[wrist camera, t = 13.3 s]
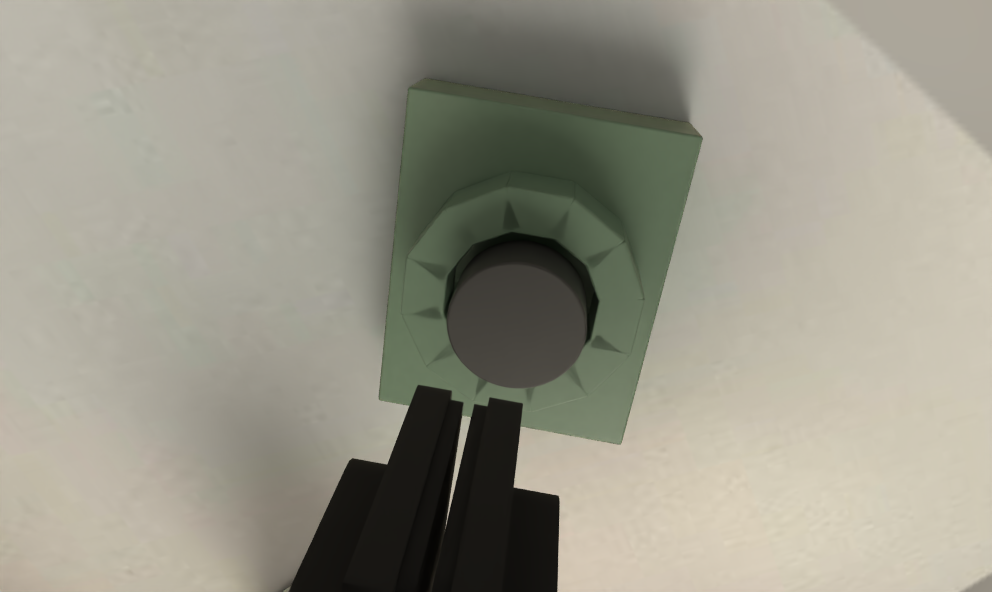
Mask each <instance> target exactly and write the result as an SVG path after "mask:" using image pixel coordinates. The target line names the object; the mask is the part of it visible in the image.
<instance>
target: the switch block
mask: <svg viewBox="0 0 992 592" xmlns="http://www.w3.org/2000/svg"><path fill="white" fill-rule="evenodd" d="M702 140H703V138H702V136H701V135H700V134H699V133H698V131H697V130H696V129H695V128H694V127H693V126H692V125H691V124H690V123H687V122H682V121H676V120H670V119H664V118H658V117H652V116H646V115H640V114H634V113H628V112H622V111H616V110H610V109H604V108H599V107H593V106H587V105H581V104H575V103H569V102H563V101H557V100H551V99H545V98H539V97H533V96H527V95H521V94H516V93H510V92H504V91H498V90H492V89H486V88H480V87H474V86H468V85H462V84H456V83H450V82H444V81H439V80H433V79H427V78H425V79H423V80H421V81H419V82H418V83H416V84H414V85H412V86H410V87H409V88H408V95H407V106H406V116H405V127H404V137H403V148H402V158H401V169H400V179H399V190H398V200H397V211H396V221H395V231H394V242H393V252H392V263H391V273H390V284H389V294H388V305H387V315H386V326H385V336H384V347H383V357H382V368H381V378H380V388H379V400H381V401H387V402H392V403H397V404H403V405H408V406H410V403H411V401H412V398H413V395H414V393H415V390H416V388H417V386H418V385H424V386H429V387H435V388H440V389H446V390H452V400H455V401H461V402H464V405H463V413H462V416H468V417H471V416H472V412H473V407H474V404H478V405H483V406H488V402H489V397H491V398H497V399H502V400H508V401H514V402H519V403H523V409H522V418H521V427H527V428H532V429H538V430H543V431H548V432H554V433H559V434H565V435H570V436H575V437H581V438H586V439H592V440H597V441H602V442H608V443H613V444H621V443H622V440H623V436H624V432H625V428H626V425H627V421H628V417H629V413H630V410H631V406H632V402H633V398H634V395H635V391H636V387H637V383H638V380H639V376H640V372H641V368H642V365H643V361H644V357H645V353H646V350H647V346H648V342H649V338H650V335H651V331H652V327H653V323H654V320H655V316H656V312H657V308H658V305H659V301H660V297H661V293H662V290H663V286H664V282H665V278H666V275H667V271H668V267H669V263H670V260H671V256H672V252H673V248H674V245H675V241H676V237H677V233H678V230H679V226H680V222H681V218H682V215H683V211H684V207H685V203H686V200H687V196H688V192H689V188H690V185H691V181H692V177H693V173H694V170H695V166H696V162H697V158H698V155H699V151H700V147H701V143H702ZM513 240H525V241H533V242H537V243H541V244H543V245H546V246H549V247H550V248H552V249H554V250H556V251H558V252H559V253H560V254H562V255H563V256H564V257H565V258H566V259H568V260H569V261H570V262H571V264H572V265H573V266H574V267H575V269H576V270H577V272H578V273H579V275H580V277H581V279H582V282H583V285H584V288H585V293H586V306H587V335H586V341H585V344H584V347H583V349H582V352H581V354H580V356H579V357H578V359H577V360H576V362H575V363H574V364H573V365H572V366H571V368H570V369H568V370H567V371H566V372H565V373H564V374H563V375H561V376H560V377H558V378H557V379H555V380H553V381H551V382H549V383H546V384H544V385H541V386H537V387H532V388H524V389H516V388H506V387H502V386H498V385H495V384H492V383H489V382H487V381H485V380H483V379H481V378H479V377H478V376H476V375H475V374H473V373H472V372H471V371H470V370H469V369H468V368H467V367H466V366H465V365H464V364H463V363H462V362H461V361H460V359H459V358H458V357H457V355H456V354H455V352H454V350H453V348H452V346H451V343H450V340H449V337H448V332H447V312H448V308H449V304H450V302H451V299H452V296H453V294H454V291H455V289H456V287H457V284H458V282H459V279H460V277H461V275H462V273H463V271H464V269H465V268H466V266H467V265H468V264H469V262H470V261H471V260H472V259H473V258H474V257H475V256H476V255H478V254H479V253H480V252H481V251H483V250H485V249H487V248H488V247H490V246H493V245H495V244H498V243H502V242H506V241H513Z"/></svg>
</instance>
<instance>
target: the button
mask: <svg viewBox="0 0 992 592" xmlns="http://www.w3.org/2000/svg"><path fill="white" fill-rule="evenodd" d="M447 332H448V337H449V340H450V343H451V346H452V348H453V350H454V352H455V354H456V355H457V357H458V358H459V359H460V361H461V362H462V363H463V364H464V365H465V366H466V367H467V368H468V369H469V370H470V371H471V372H472V373H473V374H475V375H476V376H478V377H479V378H481V379H483V380H485V381H487V382H489V383H492V384H495V385H498V386H502V387H506V388H516V389H524V388H532V387H537V386H541V385H544V384H546V383H549V382H551V381H553V380H555V379H557V378H558V377H560V376H561V375H563V374H564V373H565V372H566V371H567V370H568V369H570V368H571V366H572V365H573V364H574V363H575V362H576V360H577V359H578V357H579V356H580V354H581V352H582V349H583V347H584V344H585V341H586V335H587V306H586V293H585V288H584V285H583V282H582V279H581V277H580V275H579V273H578V272H577V270H576V269H575V267H574V266H573V265H572V264H571V262H570V261H569V260H568V259H566V258H565V257H564V256H563V255H562V254H560V253H559V252H558V251H556V250H554V249H552V248H550V247H549V246H546V245H543V244H541V243H537V242H533V241H525V240H513V241H506V242H502V243H498V244H495V245H493V246H490V247H488V248H487V249H485V250H483V251H481V252H480V253H479V254H478V255H476V256H475V257H474V258H473V259H472V260H471V261H470V262H469V264H468V265H467V266H466V268H465V269H464V271H463V273H462V275H461V277H460V279H459V282H458V284H457V287H456V289H455V291H454V294H453V296H452V299H451V302H450V304H449V308H448V312H447Z"/></svg>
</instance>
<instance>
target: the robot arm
mask: <svg viewBox="0 0 992 592" xmlns="http://www.w3.org/2000/svg"><path fill="white" fill-rule="evenodd" d="M463 405H464V402H461V401H455V400H452V390H446V389H440V388H435V387H429V386H424V385H418V386H417V388H416V390H415V393H414V395H413V398H412V401H411V403H410V406H409V409H408V411H407V414H406V417H405V419H404V422H403V425H402V427H401V430H400V432H399V435H398V438H397V440H396V443H395V446H394V448H393V451H392V454H391V456H390V459H389V462H388V464H387V465H386V464H381V463H375V462H370V461H364V460H359V459H353V458H352V459H351V460H350V461H349V462H348V464H347V466H346V468H345V470H344V472H343V474H342V477H341V479H340V481H339V483H338V485H337V487H336V490H335V492H334V494H333V496H332V498H331V500H330V503H329V505H328V507H327V509H326V511H325V514H324V516H323V518H322V520H321V522H320V524H319V527H318V529H317V531H316V533H315V535H314V537H313V540H312V542H311V544H310V546H309V548H308V550H307V553H306V555H305V557H304V559H303V561H302V563H301V566H300V568H299V570H298V572H297V574H296V576H295V579H294V581H293V583H292V585H291V587H290V590H289V592H557V582H558V543H559V496H557V495H551V494H546V493H540V492H535V491H529V490H524V489H518V488H513V487H514V478H515V470H516V461H517V452H518V444H519V435H520V427H521V418H522V409H523V403H519V402H514V401H508V400H502V399H497V398H491V397H489V402H488V406H483V405H478V404H474V407H473V412H472V416H471V420H470V425H469V429H468V433H467V438H466V442H465V447H464V451H463V455H462V460H461V464H460V468H459V473H458V477H457V481H456V486H455V490H454V494H453V499H452V503H451V507H450V512H449V516H448V520H447V513H448V507H449V500H450V493H451V487H452V480H453V473H454V466H455V460H456V453H457V446H458V439H459V433H460V426H461V419H462V413H463ZM446 520H447V525H446ZM445 527H446V529H445ZM444 533H445V534H444Z"/></svg>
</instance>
